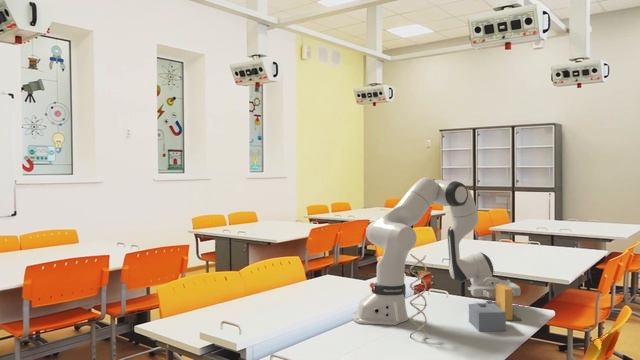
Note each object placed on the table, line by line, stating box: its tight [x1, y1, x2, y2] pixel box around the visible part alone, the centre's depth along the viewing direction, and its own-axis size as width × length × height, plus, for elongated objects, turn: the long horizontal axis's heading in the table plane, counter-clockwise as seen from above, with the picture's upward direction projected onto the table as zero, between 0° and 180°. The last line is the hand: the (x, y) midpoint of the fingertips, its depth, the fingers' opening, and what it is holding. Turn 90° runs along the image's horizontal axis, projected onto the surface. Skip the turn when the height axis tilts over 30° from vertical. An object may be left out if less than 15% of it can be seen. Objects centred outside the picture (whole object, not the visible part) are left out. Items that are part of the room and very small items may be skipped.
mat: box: [506, 312, 522, 322], centre depth 209 cm, size 10×10×1 cm
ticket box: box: [468, 303, 507, 332], centre depth 198 cm, size 10×12×7 cm
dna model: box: [408, 253, 428, 340], centre depth 185 cm, size 7×6×30 cm
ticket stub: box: [495, 284, 513, 320], centre depth 209 cm, size 3×10×12 cm, turn 2°
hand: (501, 295), depth 212 cm, fingers open, 8 cm apart
